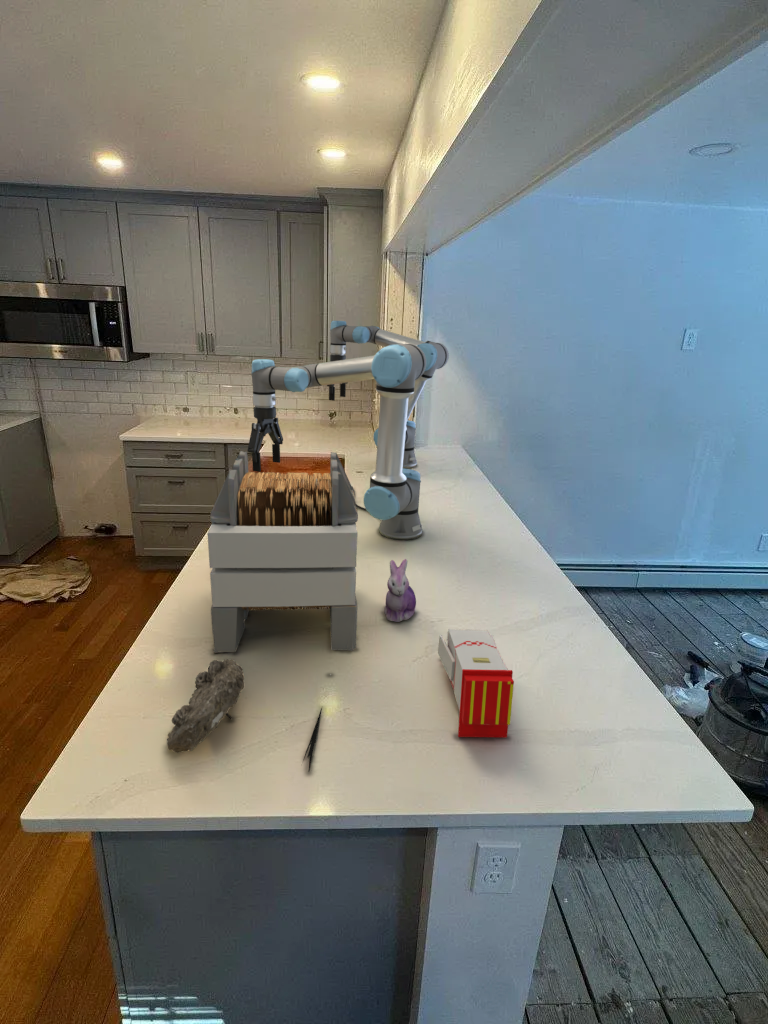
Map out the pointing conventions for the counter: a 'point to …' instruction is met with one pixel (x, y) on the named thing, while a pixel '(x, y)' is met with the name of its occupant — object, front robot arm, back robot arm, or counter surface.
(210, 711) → the fossil
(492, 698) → the toy
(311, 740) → the feather
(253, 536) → the grey record crate stand
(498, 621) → the counter surface
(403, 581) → the figurine
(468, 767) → the counter surface
